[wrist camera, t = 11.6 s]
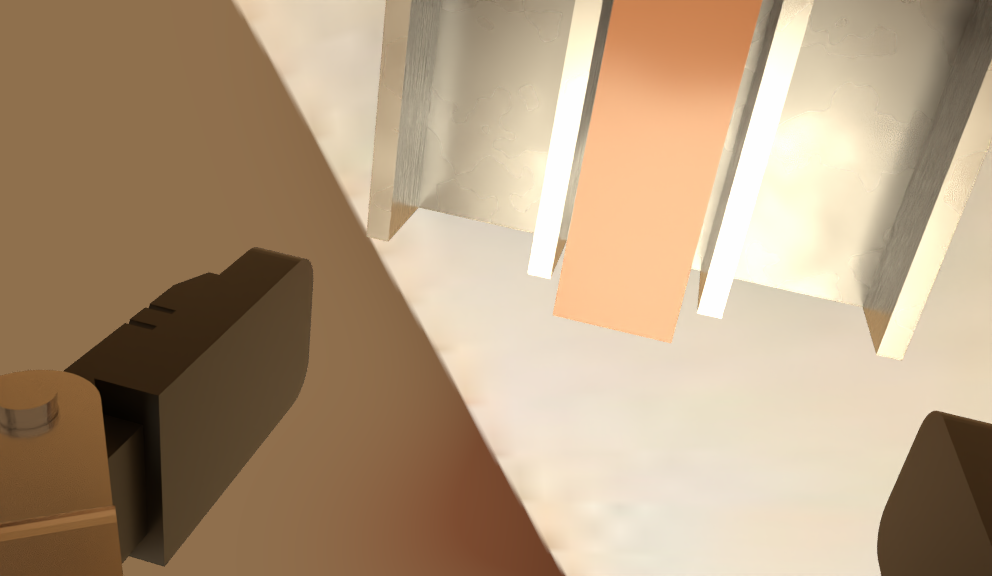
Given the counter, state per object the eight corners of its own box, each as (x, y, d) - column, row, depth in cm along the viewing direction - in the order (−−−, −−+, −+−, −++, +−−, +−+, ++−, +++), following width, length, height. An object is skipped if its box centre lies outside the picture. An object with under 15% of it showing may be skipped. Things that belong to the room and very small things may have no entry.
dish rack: (397, 192, 36) (355, 234, 32) (436, -210, 29) (390, -220, 25) (892, 302, 33) (914, 363, 29) (1054, -114, 27) (1110, -109, 23)
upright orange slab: (669, -126, 28) (636, -116, 18) (767, -110, 28) (786, -91, 18) (606, 178, 32) (552, 315, 23) (689, 196, 32) (670, 343, 22)
